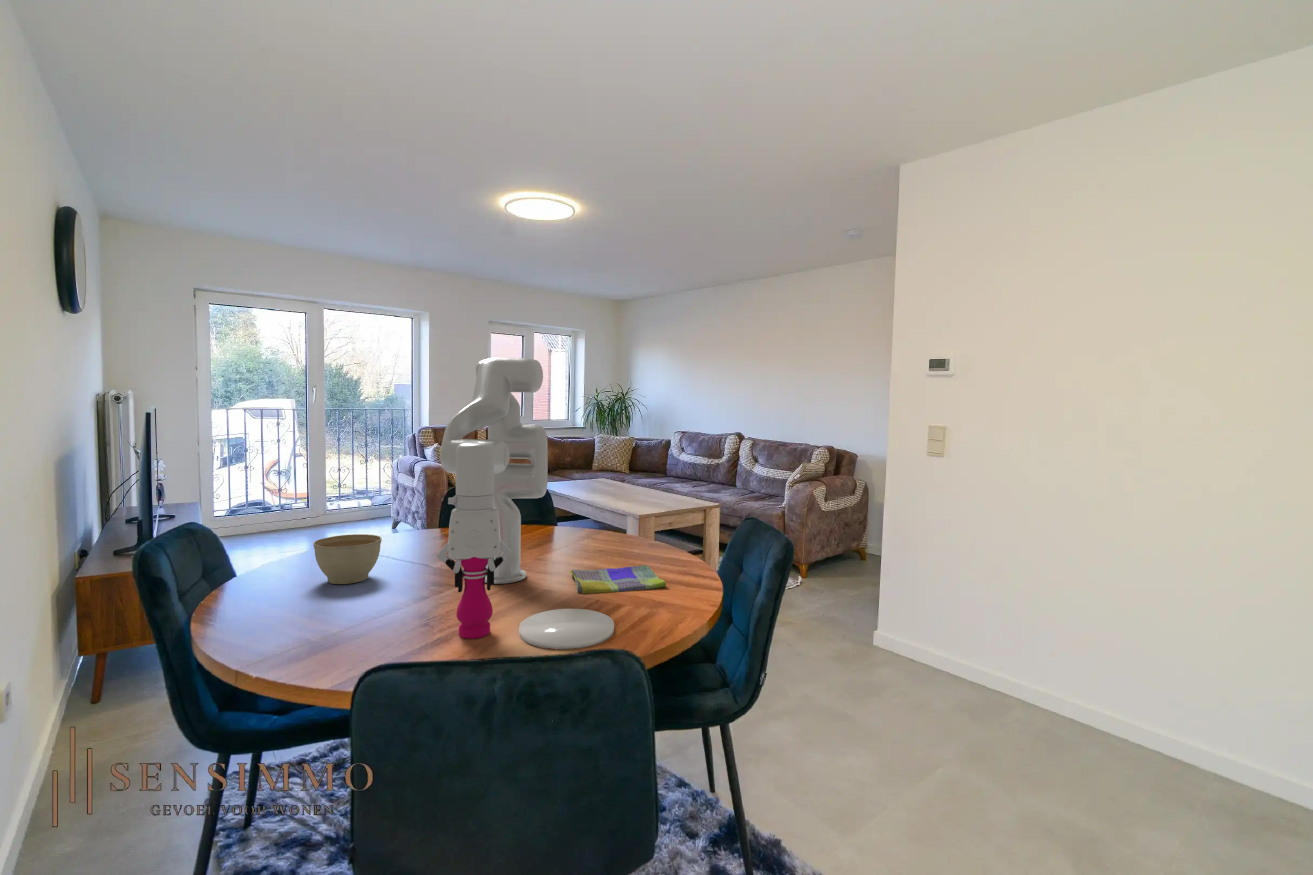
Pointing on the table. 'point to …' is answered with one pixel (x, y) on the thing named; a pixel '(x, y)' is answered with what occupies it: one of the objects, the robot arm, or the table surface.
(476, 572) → the pepper mill
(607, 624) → the disc
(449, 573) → the table surface
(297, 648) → the table surface
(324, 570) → the planter bowl
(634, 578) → the dish towel
